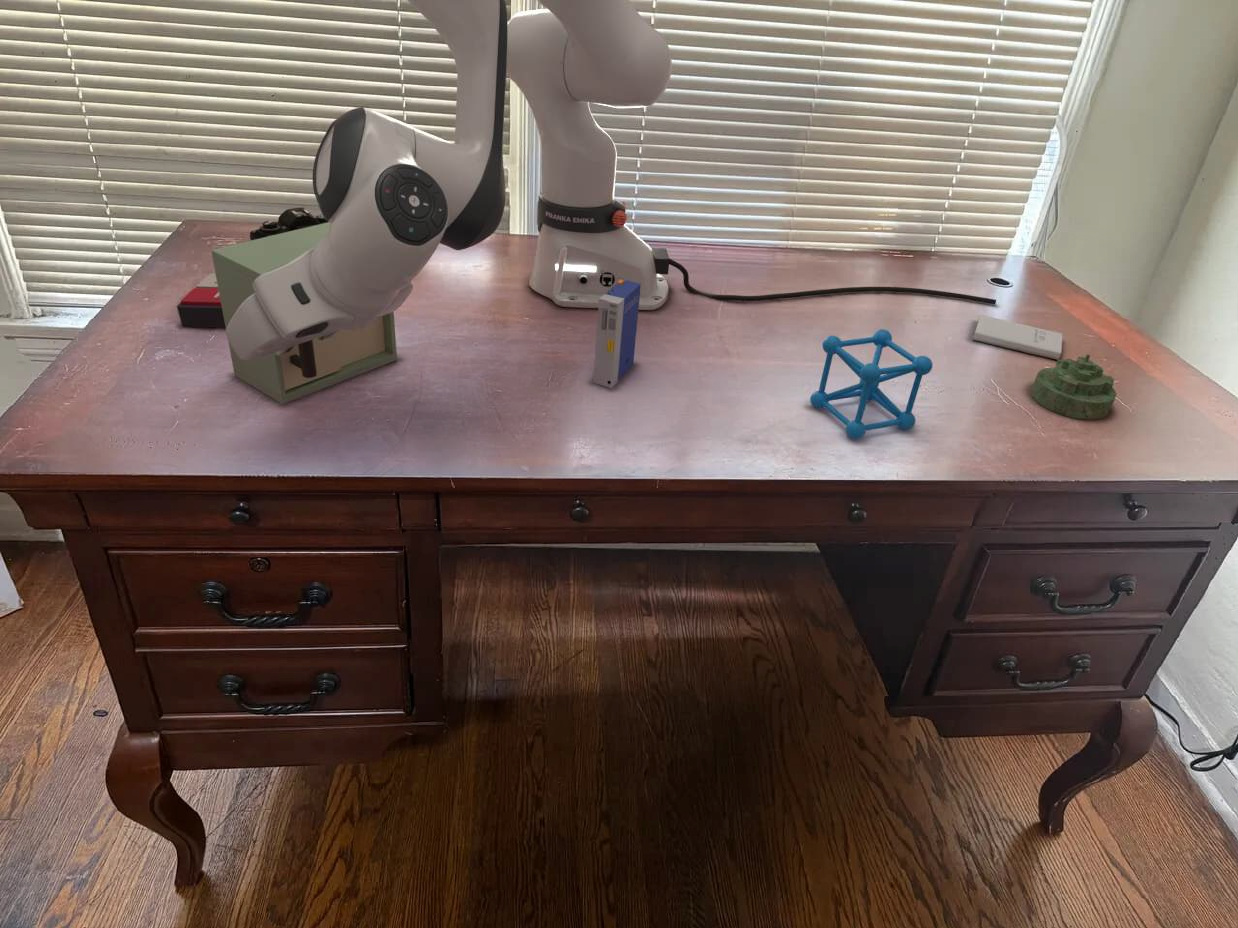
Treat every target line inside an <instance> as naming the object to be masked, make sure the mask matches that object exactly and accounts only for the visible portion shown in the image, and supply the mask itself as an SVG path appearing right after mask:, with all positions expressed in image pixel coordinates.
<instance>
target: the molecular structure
mask: <svg viewBox="0 0 1238 928" xmlns="http://www.w3.org/2000/svg"><path fill="white" fill-rule="evenodd" d="M892 339H893V337H892V334H891V332H890V331H889V330H887V329H884V328H882V329H878V330H876V331H875V332H874V333H873V335H872V336H869V337H860V338H853V339H847V340H846V339H845V340H841V338H839V337H838V336H836V335H829V336H827V337H825V338H824V340H823V341H822V350H823V351H824V352H825V353H826V356H825V362H824V366H823V369H822V370H823V371H822V373H821V378H820V383H819V387H818V390H815V391H814V392H813V393H812V394H811V396H810V399H809V401H810V404H811V406H812V407H813V408H815V409H817V410H820V409H821V410H822V409H826V411H828V412H829V413H830V414H832V415H833V416H834V417H835V418H836V419H837V420H839V421H840V422H841V423H842V424H844V425H845V433H846V435H847V437H849V438H850V439H852V440H858V439H861V438H863V436H864V435H865V434H866V432H867V431H871V430H872V431H873V430H877V429H882V428H888V427H895V426H897V427H898V428H899V429H901V430H903V431H908V430H910V429H912V428H914V426H915V424H916V417H915V414H913V413H912V412H913V408H914V405H915V403H916V398H917V395H918V391H919V389H920V385H921V382H922V379H923V376H926V375H928V374H929V373H931V371H932V369H933V361H932V359H931V358H930V357H929V356H927V355H919V356H917V357H916V356H914V355H913V354H912V353H911V352H909V351H907V350H905V349H904V348H902V347H901V346H899V345H898V344H897V343H895V342H893V340H892ZM865 344H874V346H875V351H874V355H873V358H872V362H868V363H866V364H864V363H863V362H861V361H860V360H858V359H857V358H856V357H854V356H853V355H852V354H850V353H849V352H847V351H846V350H845V349H843V347H851V346H858V345H865ZM887 347H889V349H891V350H893V351H894V352H896V353H897V354H899V355H901V356H902V357H903V358H905V359H906V360H908V361H909V362H910V363H909V364H903V365H895V366H888V367H879V364H880V360H881V356H882V352H883V349H884V348H887ZM834 355H837V356H838V357H839V359H841V361H842V362H844V363H845V364H846V365H847V367H849V369H851V371H852V372H853V373H855V375H857V377H858V378H859V383H856V384H853V385H850V386H847V387H844V388H841V389H838V390H836V391H835V390H834V391H831V392H828V393H827V392H826V387H827V382H828V379H829V378H828V377H829V375H830V369H831V365H832V361H833V357H834ZM911 373H914V374H915V378H914V380H913V383H912V387H911V390H910V394H909V396H908V397H909V398H908V401H907V404H906V407H905V410H904V411H901V410H900V409H899V408H898V407H897V406H896V405H895V404H894V403H893V401H892V400H890V398H889V397H888V396H887V395H886V394H885V393H884V392H883V391H882V390H881V389H880V388H879V386H880V383H883V382H887V381H889V380H892V379H895V378H898V377H902V376H904V375H908V374H911ZM856 397H860V399H859V402H858V406H857V411H856V414H855V418H854V419H852V420H850V419H848V418H847V417H846V416H845V415H843V413H841V412H840V411H839V410H837V408H835V407H834V406H833V405H832V404H830V402H831V401H838V400H843V399H850V398H856ZM868 401H869V402H870V401H875V402H876V403H877V404H878V405H880V406H881V407H882V408H884V409H885V410H886V411H887V412H889V413H890V414H891V415H893V416H894V417H895V419H891V420H885V421H884V420H883V421H879V422H873V423H866V424H865V423H864V422H863V421H862V420H863V418H864V413H865V409H866V406H867V403H868Z"/></svg>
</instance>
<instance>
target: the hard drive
mask: <svg viewBox="0 0 1238 928" xmlns="http://www.w3.org/2000/svg"><path fill="white" fill-rule="evenodd" d="M977 319H978V320H977V323H976V327H975V331H974V334H973V338H972V340H973V341H977V342H980V343H984V344H989V345H994V346H997V347H1001V348H1005V349H1010V350H1014V351H1018V352H1021V353H1027V354H1029V355H1030V354H1031V355H1035V356H1039V357H1042V358H1043V357H1044V358H1048V359H1052V360H1056V361H1058V360H1060V358H1061V355H1062V352H1063V350H1062V349H1063V333H1060V332H1057V331H1053V330H1047V329H1044V328H1039V327H1035V326H1031V325H1027V324H1022V323H1018V322H1014V321H1010V320H1005V319H1001V318H997V317H993V316H989V315H984V314H979V317H978V318H977Z"/></svg>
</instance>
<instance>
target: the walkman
mask: <svg viewBox="0 0 1238 928" xmlns="http://www.w3.org/2000/svg"><path fill="white" fill-rule="evenodd" d="M640 288H641V283H636V282H632V281H627V280H623V279H620V280H619V281H618V282H617V284H616V285H614V286H613V287H612V288H611V289H610V290H609V291H607V292H606V293H605V294H604V295H603V296H602V297H601V298H599V306H598V308H597V323H596V324H597V325H596V336H595V337H596V338H595V352H594V353H595V354H594V367H593V368H594V369H593V380H592V381H593V384H595V385H600V386H602V387H605V388H609V389H613V388H614V386H615V385H616V384H618V382H619V381H620V380H621V378H623V376H624V375H625V374H626V373H627V372H628V371H629V370H631V369H630V368H632V367H633V366H634V363H635V361H634V360H635V350H636V341H637V328H638V320H639V319H638V318H639V310H638V309H639V299H640Z"/></svg>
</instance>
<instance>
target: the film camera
mask: <svg viewBox="0 0 1238 928" xmlns="http://www.w3.org/2000/svg"><path fill="white" fill-rule="evenodd" d="M328 222H329V221H328V220H326V219H325V218H324V216H323V214H322V213H321V214H318V215H317V216H314V215H313V214H311V213H310V211H308V210H307V209H306V208H305V207H292V208H288V209H285V210H284V211H283V212H282V213H280V215H279V217H278V219H277V221H272V220H271V221H270V220H267V221H263V222H262V223H261V224H262V225H260V226H259V228H258V229H253V230H251V231H250V232H249V239H250V241H251V240H256V239H260V238H264V237H268V236H273V235H277V234H281V233H285V232H290V231H294V230H298V229H302V228H306V227H311V226H315V225H319V224H323V223H328Z"/></svg>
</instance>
